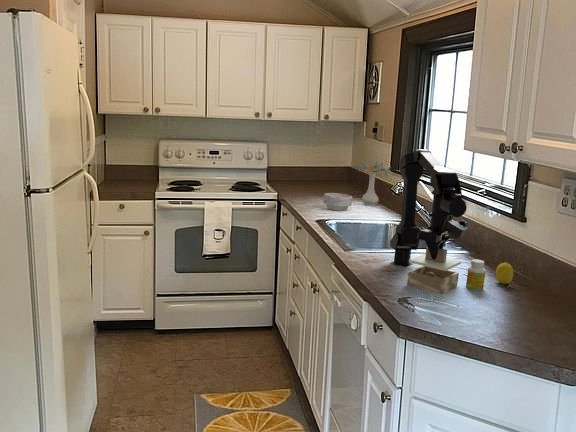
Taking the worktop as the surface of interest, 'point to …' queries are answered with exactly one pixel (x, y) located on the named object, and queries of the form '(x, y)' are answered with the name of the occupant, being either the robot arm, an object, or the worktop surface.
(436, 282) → the box
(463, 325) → the worktop surface
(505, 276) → the lemon
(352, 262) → the worktop surface
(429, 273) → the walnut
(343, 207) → the paper bowls
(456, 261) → the lid
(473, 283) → the supplement bottle
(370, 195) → the flower vase
